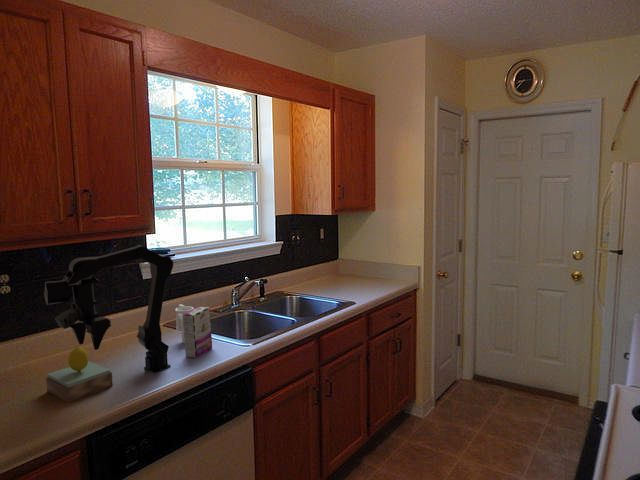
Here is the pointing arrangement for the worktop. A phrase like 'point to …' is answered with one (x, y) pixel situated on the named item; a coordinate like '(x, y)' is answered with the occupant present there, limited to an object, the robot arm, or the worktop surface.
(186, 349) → the candy bar box
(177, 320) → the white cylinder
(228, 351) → the worktop surface
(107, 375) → the tray
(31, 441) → the worktop surface
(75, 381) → the lid
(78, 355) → the lemon
